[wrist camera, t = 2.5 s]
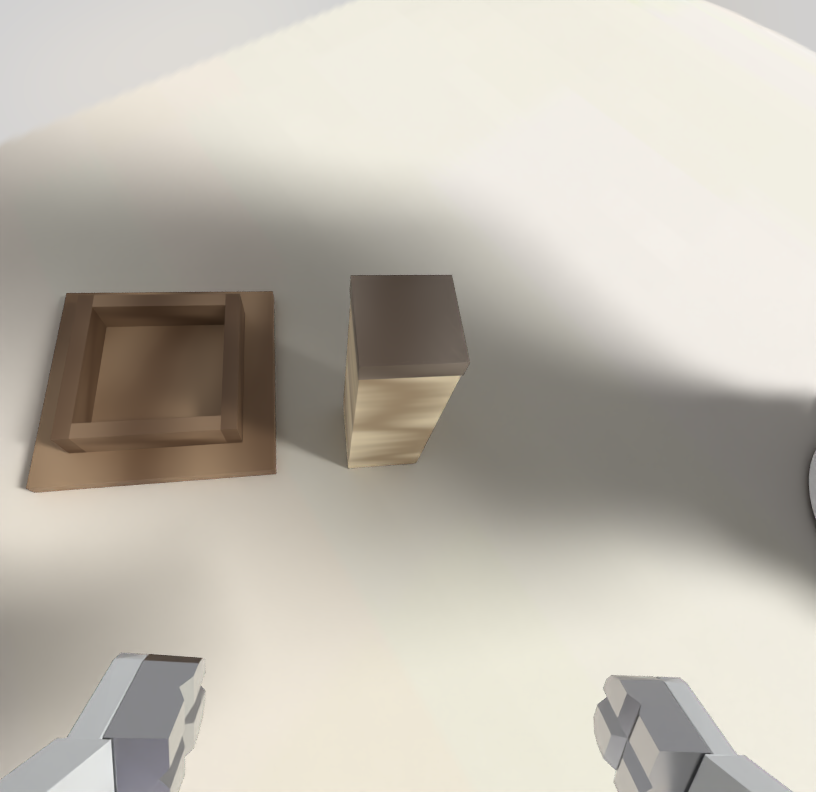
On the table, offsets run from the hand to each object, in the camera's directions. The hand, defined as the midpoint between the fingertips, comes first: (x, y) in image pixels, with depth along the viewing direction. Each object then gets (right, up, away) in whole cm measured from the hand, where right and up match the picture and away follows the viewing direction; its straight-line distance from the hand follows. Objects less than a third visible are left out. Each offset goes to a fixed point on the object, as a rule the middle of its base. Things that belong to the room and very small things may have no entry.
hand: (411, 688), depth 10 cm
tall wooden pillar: (-2, +4, +19) cm, 20 cm away
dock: (-14, +7, +19) cm, 24 cm away
